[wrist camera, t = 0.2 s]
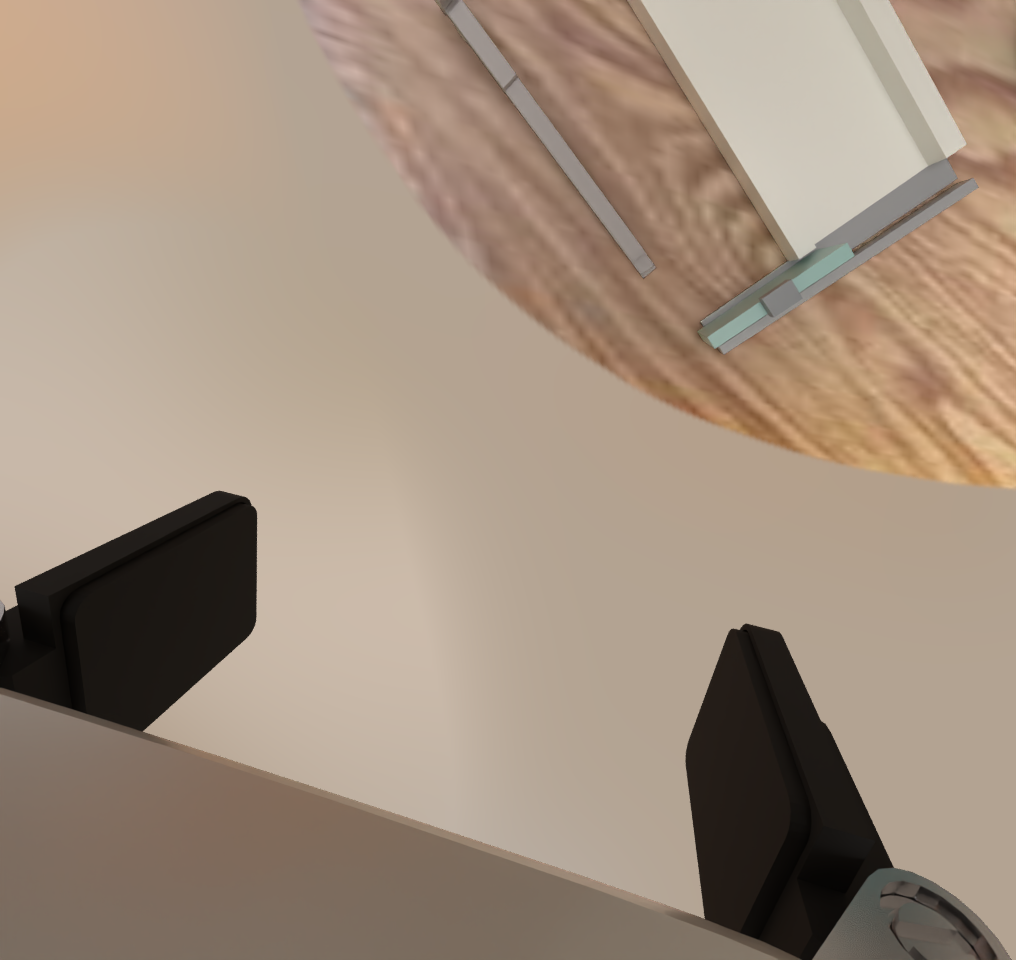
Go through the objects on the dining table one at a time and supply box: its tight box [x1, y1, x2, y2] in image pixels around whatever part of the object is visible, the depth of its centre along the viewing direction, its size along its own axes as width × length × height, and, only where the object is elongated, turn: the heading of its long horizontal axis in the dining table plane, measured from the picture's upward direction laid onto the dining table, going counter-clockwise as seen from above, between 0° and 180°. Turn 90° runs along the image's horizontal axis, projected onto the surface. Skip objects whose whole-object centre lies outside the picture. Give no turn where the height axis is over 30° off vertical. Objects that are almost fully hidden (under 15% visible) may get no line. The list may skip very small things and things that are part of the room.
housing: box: [627, 0, 979, 354], centre depth 31 cm, size 15×26×2 cm, turn 37°
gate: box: [697, 243, 855, 349], centre depth 32 cm, size 8×1×6 cm, turn 127°
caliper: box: [435, 0, 656, 278], centre depth 32 cm, size 20×1×6 cm, turn 41°
